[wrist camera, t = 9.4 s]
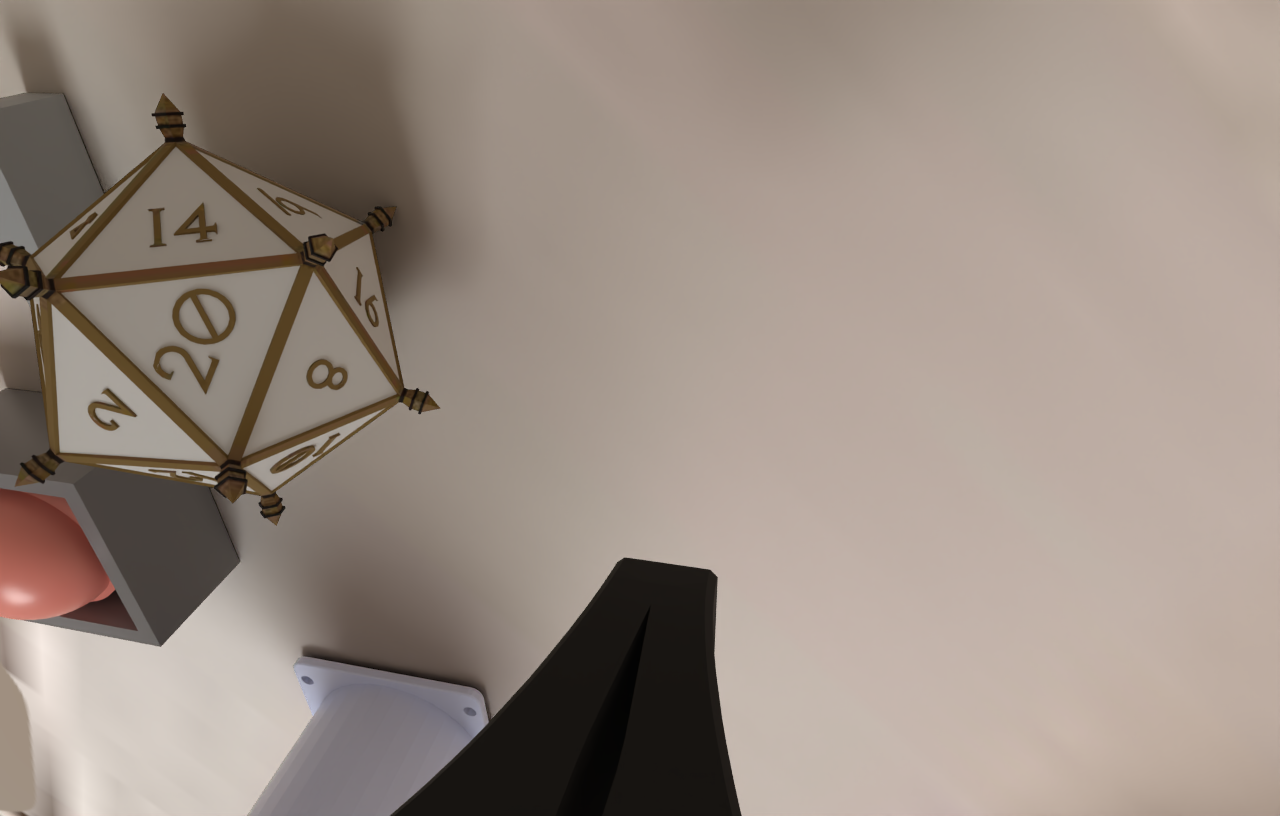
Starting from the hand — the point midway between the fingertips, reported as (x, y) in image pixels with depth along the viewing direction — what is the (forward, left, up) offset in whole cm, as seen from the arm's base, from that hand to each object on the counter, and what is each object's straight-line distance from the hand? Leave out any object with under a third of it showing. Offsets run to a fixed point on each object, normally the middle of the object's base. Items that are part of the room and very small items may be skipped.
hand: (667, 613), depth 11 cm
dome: (-8, +21, -9) cm, 25 cm away
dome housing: (-8, +22, -9) cm, 25 cm away
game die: (+1, +11, -10) cm, 15 cm away
